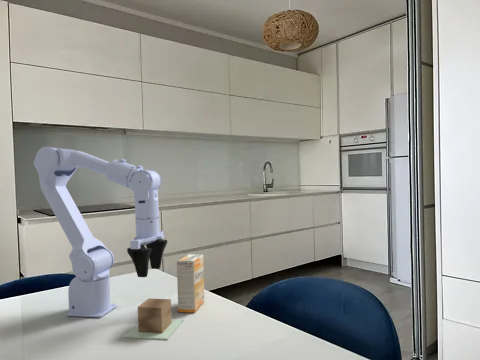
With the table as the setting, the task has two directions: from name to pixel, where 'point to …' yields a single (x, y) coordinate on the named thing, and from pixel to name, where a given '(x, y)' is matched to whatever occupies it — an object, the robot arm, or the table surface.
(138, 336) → the sage pad
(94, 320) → the table surface
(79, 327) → the table surface
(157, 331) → the walnut block
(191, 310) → the supplement box
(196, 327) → the table surface
